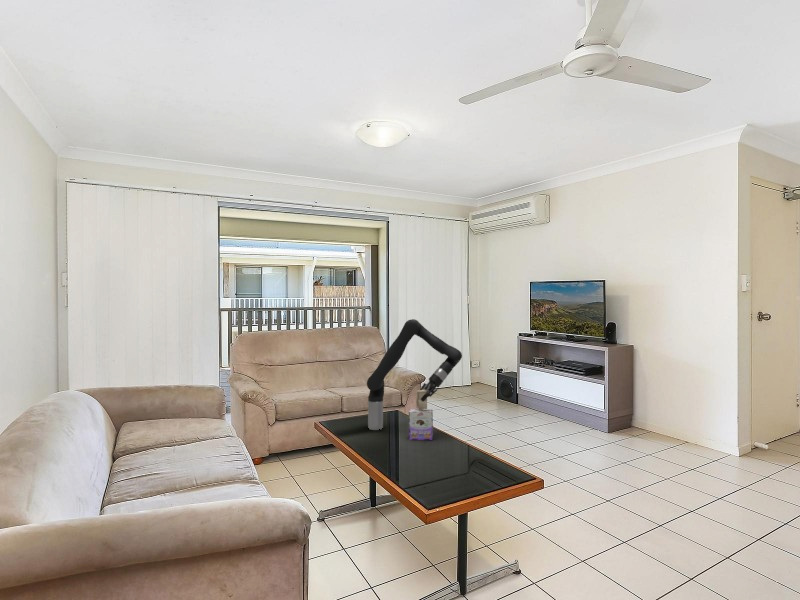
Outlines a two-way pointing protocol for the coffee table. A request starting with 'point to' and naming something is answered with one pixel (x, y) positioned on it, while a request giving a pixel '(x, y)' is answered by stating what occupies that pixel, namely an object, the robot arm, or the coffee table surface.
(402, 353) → the robot arm
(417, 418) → the candy box
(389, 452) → the coffee table surface
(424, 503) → the coffee table surface
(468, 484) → the coffee table surface
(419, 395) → the birch block
